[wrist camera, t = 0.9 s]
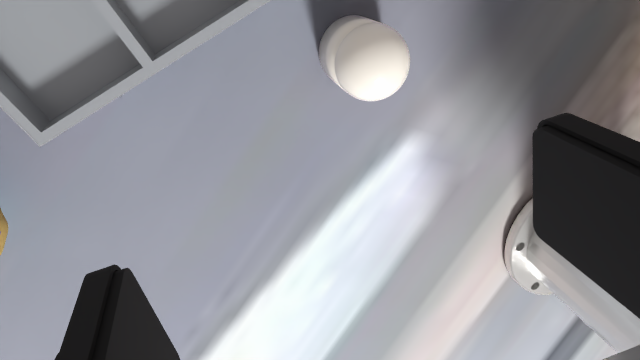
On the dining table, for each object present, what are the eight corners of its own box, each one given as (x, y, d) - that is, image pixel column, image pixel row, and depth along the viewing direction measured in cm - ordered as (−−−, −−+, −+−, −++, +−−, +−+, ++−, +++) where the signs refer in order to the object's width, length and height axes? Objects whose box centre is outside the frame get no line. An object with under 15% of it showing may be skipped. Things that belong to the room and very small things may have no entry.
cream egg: (394, 62, 30) (434, 83, 25) (338, 97, 30) (367, 125, 25) (366, 1, 28) (405, 10, 23) (306, 39, 28) (331, 57, 23)
